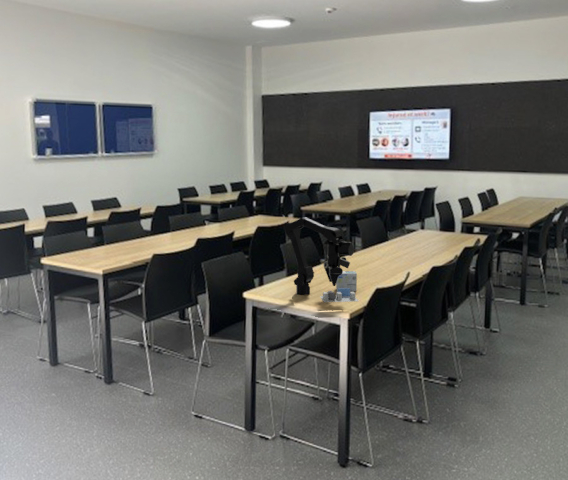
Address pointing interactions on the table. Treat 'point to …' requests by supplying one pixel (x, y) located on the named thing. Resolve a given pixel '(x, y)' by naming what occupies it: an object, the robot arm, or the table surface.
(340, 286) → the light bulb box
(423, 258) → the table surface
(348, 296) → the white base plate
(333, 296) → the dark gray cylinder
